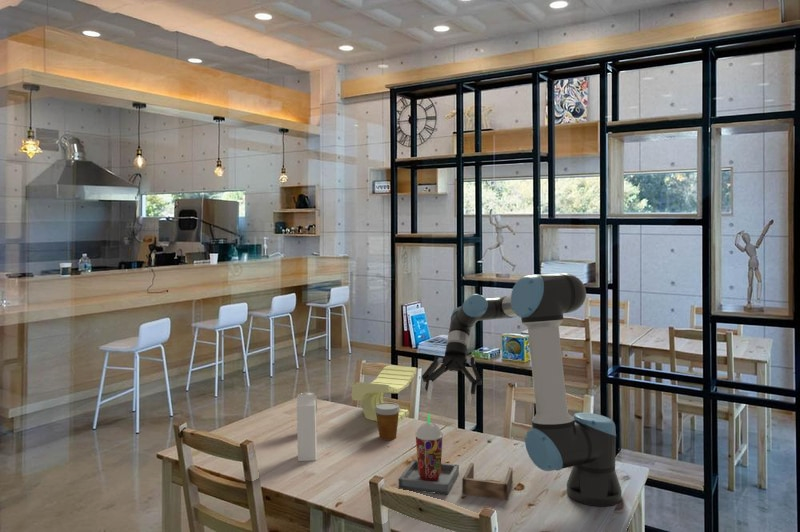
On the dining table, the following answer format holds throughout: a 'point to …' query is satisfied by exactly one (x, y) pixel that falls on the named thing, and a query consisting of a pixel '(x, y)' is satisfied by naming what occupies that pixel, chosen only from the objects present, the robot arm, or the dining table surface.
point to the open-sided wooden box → (486, 485)
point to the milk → (306, 427)
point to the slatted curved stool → (383, 389)
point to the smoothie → (429, 451)
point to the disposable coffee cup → (387, 420)
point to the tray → (441, 485)
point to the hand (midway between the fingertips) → (448, 400)
